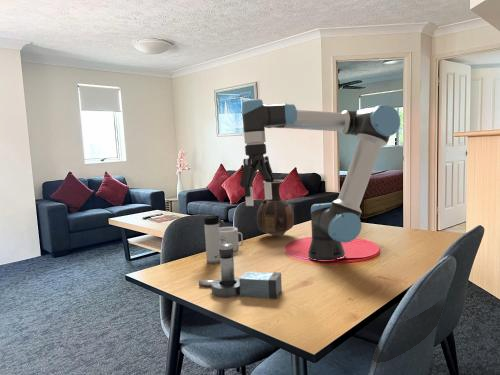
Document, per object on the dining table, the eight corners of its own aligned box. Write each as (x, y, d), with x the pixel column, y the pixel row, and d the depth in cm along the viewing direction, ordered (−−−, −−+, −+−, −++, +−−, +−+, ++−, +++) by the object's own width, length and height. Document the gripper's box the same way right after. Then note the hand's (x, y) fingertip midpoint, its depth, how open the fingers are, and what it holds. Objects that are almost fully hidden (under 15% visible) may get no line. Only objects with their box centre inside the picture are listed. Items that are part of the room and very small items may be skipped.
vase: (257, 232, 211) (255, 179, 208) (292, 231, 210) (290, 177, 207) (257, 243, 188) (254, 183, 185) (296, 241, 187) (293, 181, 184)
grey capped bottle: (227, 287, 131) (224, 242, 129) (238, 289, 128) (235, 244, 127) (219, 292, 127) (216, 246, 125) (230, 294, 125) (227, 247, 123)
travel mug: (219, 264, 158) (216, 217, 156) (204, 263, 159) (201, 217, 157) (223, 259, 164) (221, 214, 162) (209, 259, 165) (206, 214, 163)
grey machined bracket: (283, 288, 127) (282, 270, 127) (275, 301, 117) (274, 282, 116) (203, 283, 137) (201, 266, 136) (189, 294, 126) (187, 276, 126)
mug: (212, 251, 177) (211, 231, 176) (222, 245, 187) (221, 226, 186) (238, 253, 172) (237, 232, 171) (247, 247, 182) (246, 227, 181)
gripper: (263, 143, 147) (267, 196, 150) (226, 146, 126) (231, 208, 129) (280, 141, 143) (284, 196, 146) (245, 144, 122) (250, 209, 125)
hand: (259, 202), depth 137 cm, fingers open, 13 cm apart
